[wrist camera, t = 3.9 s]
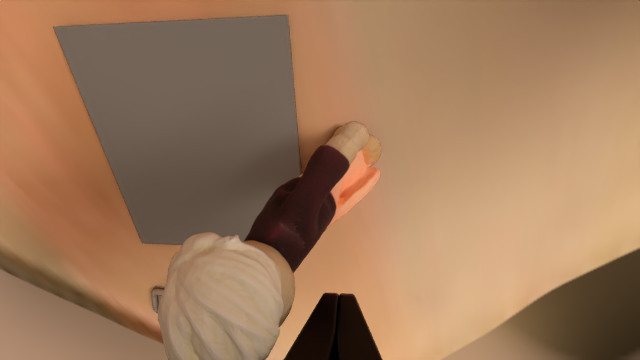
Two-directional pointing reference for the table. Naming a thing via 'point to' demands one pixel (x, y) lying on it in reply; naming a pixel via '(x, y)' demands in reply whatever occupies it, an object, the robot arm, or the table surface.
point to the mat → (190, 118)
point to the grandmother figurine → (261, 258)
